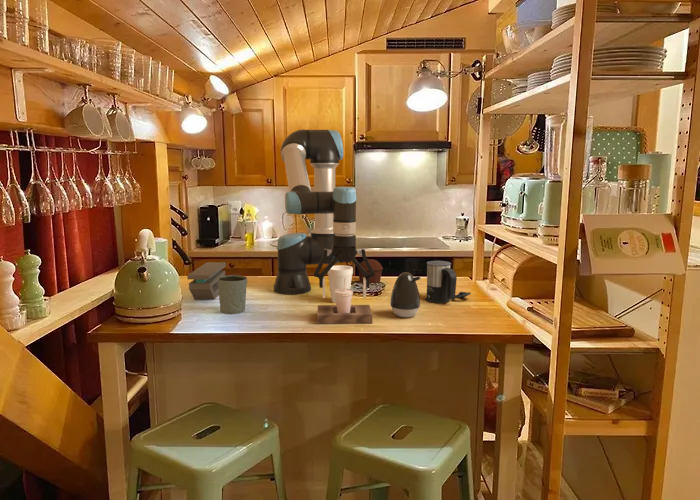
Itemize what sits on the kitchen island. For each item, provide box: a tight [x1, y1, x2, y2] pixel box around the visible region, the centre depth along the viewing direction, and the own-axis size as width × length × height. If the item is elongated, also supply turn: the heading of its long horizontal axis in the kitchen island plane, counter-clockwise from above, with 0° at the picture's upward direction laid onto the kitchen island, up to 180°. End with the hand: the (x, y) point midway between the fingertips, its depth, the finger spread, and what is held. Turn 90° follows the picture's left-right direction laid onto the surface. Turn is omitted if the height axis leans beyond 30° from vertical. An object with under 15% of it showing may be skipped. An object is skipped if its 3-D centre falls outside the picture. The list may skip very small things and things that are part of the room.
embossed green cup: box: [218, 274, 248, 315], centre depth 183 cm, size 10×10×12 cm
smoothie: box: [334, 278, 354, 313], centre depth 174 cm, size 6×6×14 cm
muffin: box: [357, 258, 384, 284], centre depth 227 cm, size 12×11×10 cm
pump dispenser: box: [390, 271, 421, 318], centre depth 178 cm, size 10×10×15 cm
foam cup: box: [327, 264, 354, 304], centre depth 196 cm, size 10×9×13 cm
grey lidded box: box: [187, 261, 227, 300], centre depth 204 cm, size 25×8×11 cm, turn 179°
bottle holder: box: [316, 304, 373, 325], centre depth 175 cm, size 18×12×3 cm, turn 93°
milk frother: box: [425, 260, 472, 304], centre depth 198 cm, size 14×16×15 cm
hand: (344, 297), depth 174 cm, fingers open, 13 cm apart
